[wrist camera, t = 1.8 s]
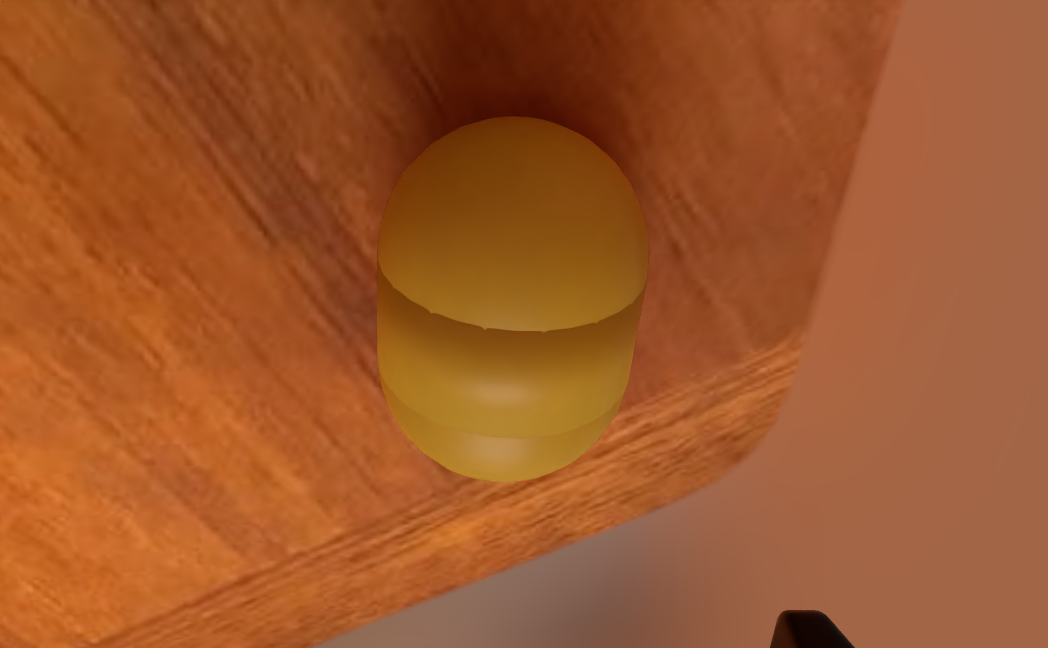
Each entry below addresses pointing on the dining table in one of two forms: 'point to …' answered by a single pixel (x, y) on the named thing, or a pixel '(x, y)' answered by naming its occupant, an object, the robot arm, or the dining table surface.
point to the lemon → (509, 297)
